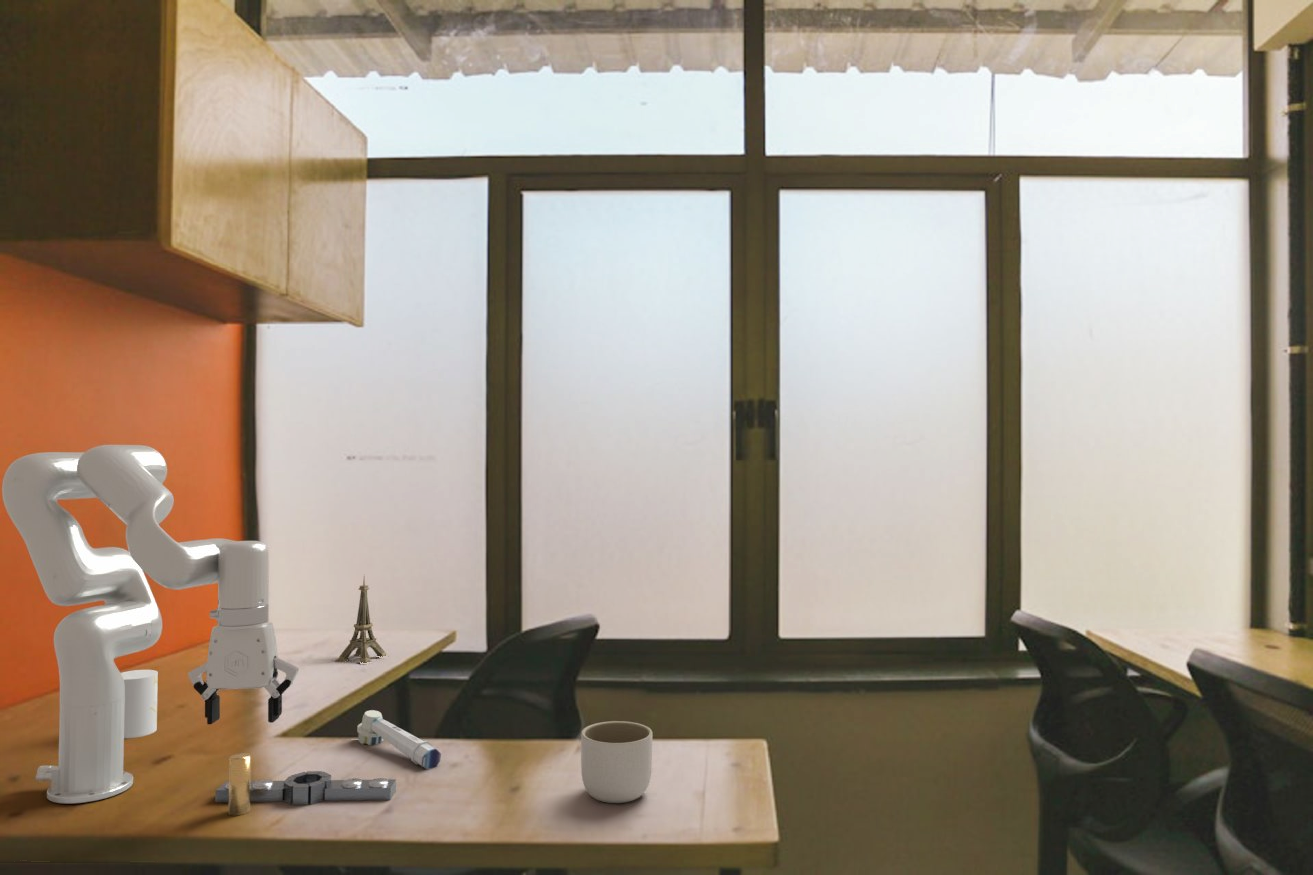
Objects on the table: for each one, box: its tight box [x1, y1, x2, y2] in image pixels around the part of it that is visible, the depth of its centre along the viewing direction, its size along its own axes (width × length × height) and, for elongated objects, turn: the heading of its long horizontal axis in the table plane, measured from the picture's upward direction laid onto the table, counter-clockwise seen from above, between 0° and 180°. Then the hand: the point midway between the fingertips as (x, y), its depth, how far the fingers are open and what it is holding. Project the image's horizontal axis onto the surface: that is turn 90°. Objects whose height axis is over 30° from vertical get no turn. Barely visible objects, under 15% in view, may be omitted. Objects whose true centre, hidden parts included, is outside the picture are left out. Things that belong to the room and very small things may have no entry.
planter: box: [580, 720, 653, 804], centre depth 154 cm, size 12×12×11 cm
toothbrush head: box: [356, 709, 442, 770], centre depth 174 cm, size 5×7×25 cm
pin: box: [227, 752, 252, 817], centre depth 145 cm, size 3×3×9 cm
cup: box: [120, 669, 159, 739], centre depth 184 cm, size 8×8×12 cm
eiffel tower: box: [334, 575, 387, 663], centre depth 250 cm, size 11×11×25 cm
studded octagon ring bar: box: [214, 770, 397, 806], centre depth 151 cm, size 29×7×3 cm, turn 94°
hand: (243, 720), depth 145 cm, fingers open, 9 cm apart
